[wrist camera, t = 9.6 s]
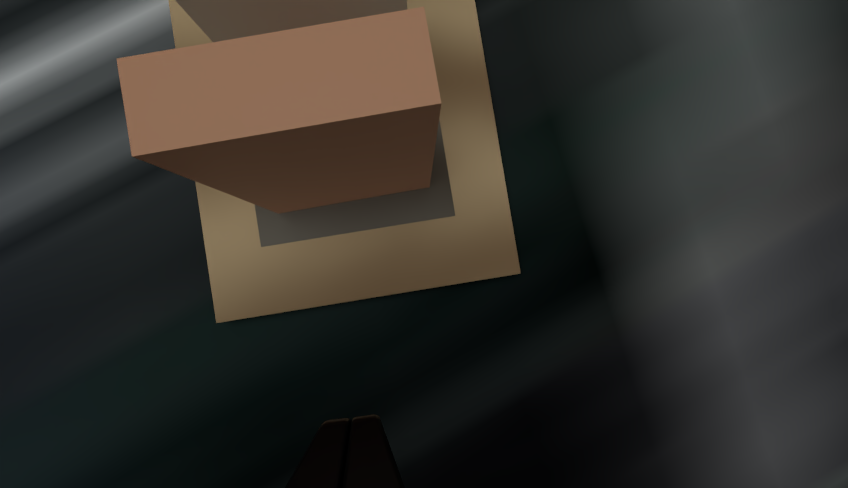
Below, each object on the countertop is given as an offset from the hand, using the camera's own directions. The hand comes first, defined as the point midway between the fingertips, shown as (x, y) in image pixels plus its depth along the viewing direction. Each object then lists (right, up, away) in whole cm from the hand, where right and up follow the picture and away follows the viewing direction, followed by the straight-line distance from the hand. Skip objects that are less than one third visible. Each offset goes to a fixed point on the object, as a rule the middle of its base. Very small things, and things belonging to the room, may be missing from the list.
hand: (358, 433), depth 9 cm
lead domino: (-1, +5, +11) cm, 12 cm away
